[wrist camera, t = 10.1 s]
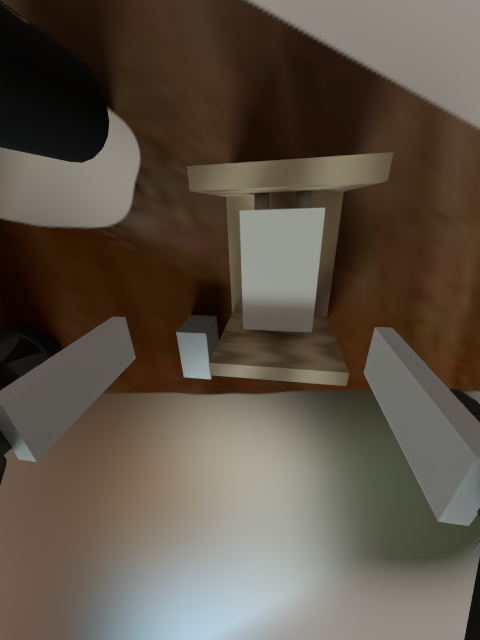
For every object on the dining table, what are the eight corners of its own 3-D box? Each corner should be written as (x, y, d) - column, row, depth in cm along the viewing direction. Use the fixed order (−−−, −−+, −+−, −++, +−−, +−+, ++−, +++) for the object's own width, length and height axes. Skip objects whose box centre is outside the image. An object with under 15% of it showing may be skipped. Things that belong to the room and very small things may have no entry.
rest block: (196, 355, 43) (183, 377, 37) (190, 314, 39) (176, 332, 34) (220, 357, 42) (211, 379, 36) (216, 315, 38) (206, 333, 33)
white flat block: (246, 318, 31) (243, 329, 29) (244, 210, 26) (239, 210, 23) (309, 321, 30) (311, 332, 27) (320, 207, 24) (325, 207, 22)
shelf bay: (233, 319, 38) (209, 374, 26) (227, 182, 30) (187, 166, 18) (324, 323, 36) (346, 385, 24) (344, 176, 28) (393, 152, 15)
